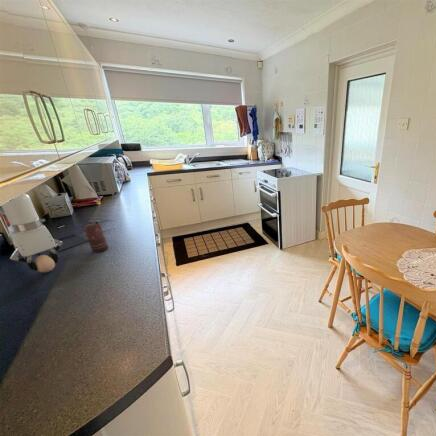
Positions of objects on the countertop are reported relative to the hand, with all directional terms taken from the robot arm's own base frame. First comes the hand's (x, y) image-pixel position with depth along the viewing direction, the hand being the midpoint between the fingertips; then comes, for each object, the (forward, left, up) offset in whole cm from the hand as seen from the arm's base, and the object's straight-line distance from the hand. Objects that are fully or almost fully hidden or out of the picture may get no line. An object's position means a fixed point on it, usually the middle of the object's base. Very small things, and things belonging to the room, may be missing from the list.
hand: (45, 265), depth 95 cm
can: (+20, +1, -3) cm, 20 cm away
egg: (0, 0, -3) cm, 3 cm away
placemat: (+14, +25, -3) cm, 29 cm away
